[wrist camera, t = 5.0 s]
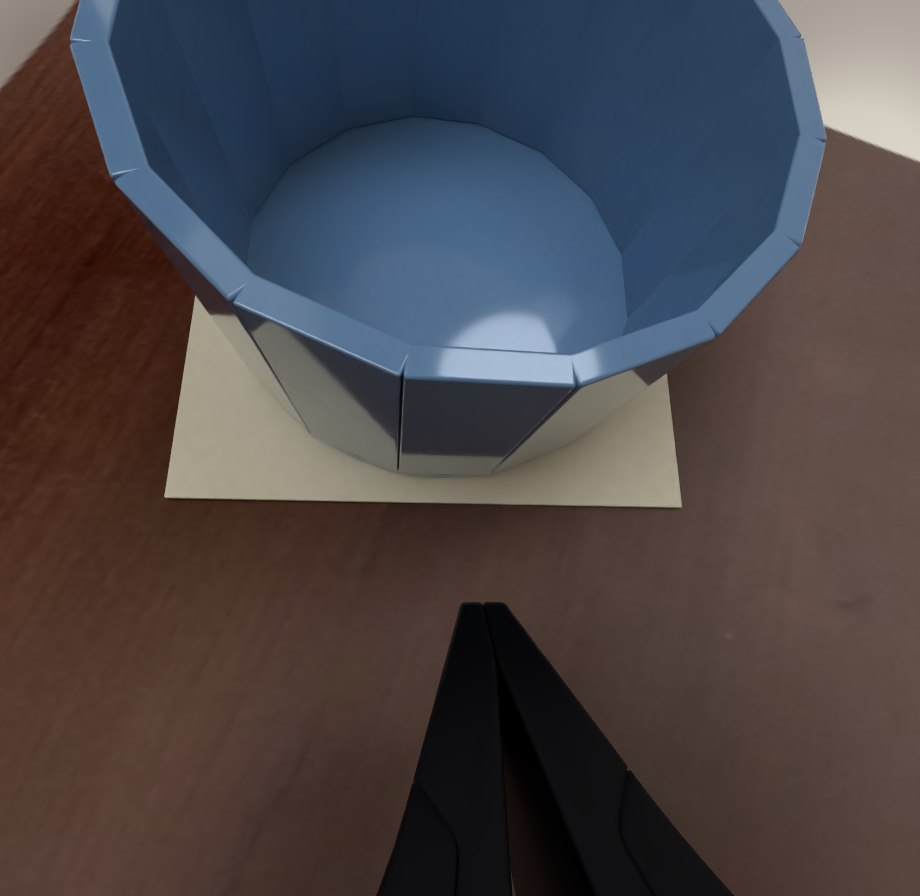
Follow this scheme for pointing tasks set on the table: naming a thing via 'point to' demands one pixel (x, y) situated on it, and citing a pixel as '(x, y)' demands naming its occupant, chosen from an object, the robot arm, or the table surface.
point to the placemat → (349, 480)
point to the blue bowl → (459, 198)
